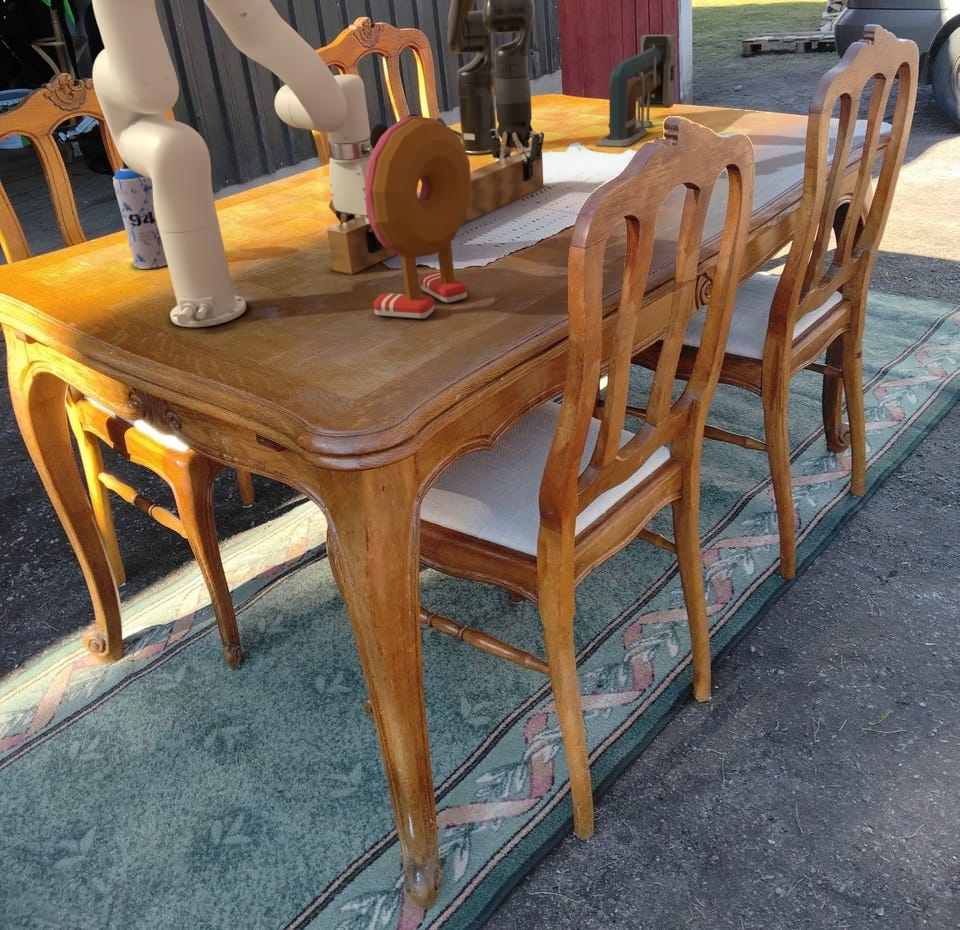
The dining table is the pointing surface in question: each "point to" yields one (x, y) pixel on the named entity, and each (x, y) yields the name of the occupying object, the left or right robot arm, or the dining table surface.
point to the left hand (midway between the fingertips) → (364, 248)
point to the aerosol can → (139, 218)
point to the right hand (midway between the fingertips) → (517, 178)
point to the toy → (418, 207)
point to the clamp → (640, 89)
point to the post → (487, 194)
